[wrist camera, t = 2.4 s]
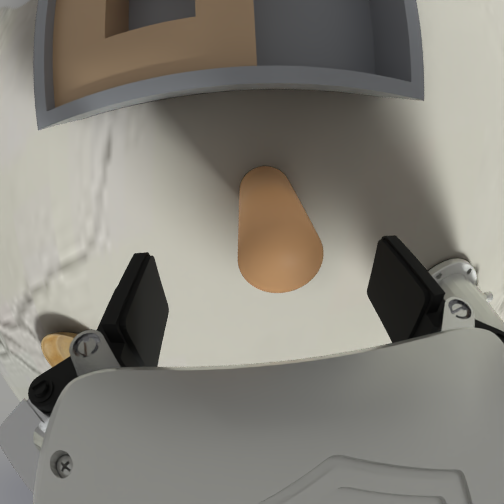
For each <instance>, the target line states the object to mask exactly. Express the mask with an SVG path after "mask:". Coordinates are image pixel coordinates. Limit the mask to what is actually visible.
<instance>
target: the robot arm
mask: <svg viewBox="0 0 504 504" xmlns="http://www.w3.org/2000/svg"><path fill="white" fill-rule="evenodd" d="M476 284H477V275H476V271H475V269H474V267H473V266H472V265H471V264H470V263H469V262H468V261H466V260H464V259H460V258H456V259H450V260H447V261H444V262H442V263H440V264H438V265H436V266H435V267H433V268H432V269H430V270H429V271H427V270H426V269H425V267H424V266H423V265H422V264H421V263H420V262H419V261H418V259H417V258H416V257H415V256H414V255H413V254H412V253H411V252H410V250H409V249H408V248H407V247H406V246H405V245H404V244H403V243H402V242H401V241H400V240H399V239H398V238H397V237H396V236H383V237H382V239H381V240H379V241H378V245H377V250H376V254H375V259H374V263H373V268H372V272H371V276H370V280H369V284H368V288H367V295H368V297H369V299H370V301H371V303H372V305H373V307H374V308H375V310H376V312H377V314H378V316H379V318H380V320H381V321H382V323H383V325H384V327H385V329H386V331H387V333H388V335H389V337H390V339H391V341H392V343H390V344H386V345H381V346H376V347H371V348H366V349H361V350H356V351H350V352H344V353H339V354H332V355H326V356H319V357H312V358H305V359H297V360H288V361H279V362H269V363H257V364H244V365H228V366H201V367H157V365H158V360H159V355H160V350H161V345H162V340H163V336H164V331H165V327H166V322H167V318H168V313H169V308H168V303H167V300H166V297H165V294H164V290H163V287H162V284H161V280H160V277H159V273H158V270H157V266H156V262H155V259H154V257H153V256H150V255H149V253H148V252H147V253H135V254H134V255H133V257H132V259H131V261H130V263H129V265H128V267H127V269H126V270H125V272H124V274H123V276H122V278H121V280H120V282H119V285H118V286H117V288H116V289H115V291H114V293H113V295H112V298H111V300H110V302H109V304H108V306H107V308H106V310H105V313H104V315H103V317H102V319H101V322H100V324H99V326H98V329H97V330H92V329H91V330H86V331H83V332H81V333H79V334H78V335H76V337H75V338H74V339H73V340H72V342H71V344H70V347H69V353H70V357H68V358H66V359H65V360H63V361H62V362H60V363H58V364H57V365H55V366H54V367H52V368H51V369H49V370H47V371H46V372H44V373H43V374H41V375H40V376H38V377H37V378H36V379H34V380H33V382H32V383H31V385H30V387H29V392H28V396H29V399H28V400H26V399H25V398H24V399H23V400H22V401H21V402H20V404H19V405H18V406H17V407H16V408H15V409H14V410H13V411H12V413H11V414H10V415H9V416H8V417H7V418H6V420H5V421H4V422H3V423H2V424H1V426H0V446H1V448H2V450H3V451H4V453H5V455H6V456H7V458H8V459H9V461H10V463H11V464H12V466H13V467H14V468H15V470H16V471H17V473H18V474H19V476H20V477H21V478H22V480H23V481H24V483H25V484H26V485H27V486H28V488H29V489H30V491H31V492H32V493H33V494H34V497H33V504H504V322H503V321H502V320H501V318H500V317H499V316H498V314H497V313H496V312H495V310H494V309H493V308H492V307H491V305H490V304H489V303H488V302H490V301H491V300H492V298H493V295H492V293H491V292H486V293H482V291H481V290H480V289H479V288H478V287H477V286H476Z"/></svg>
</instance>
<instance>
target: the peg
mask: <svg viewBox="0 0 504 504" xmlns="http://www.w3.org/2000/svg"><path fill="white" fill-rule="evenodd" d="M322 261H323V246H322V243H321V241H320V238H319V236H318V234H317V233H316V231H315V229H314V227H313V225H312V223H311V221H310V219H309V217H308V215H307V213H306V212H305V210H304V208H303V206H302V204H301V202H300V200H299V199H298V197H297V195H296V193H295V191H294V190H293V188H292V186H291V184H290V182H289V181H288V179H287V177H286V176H285V175H284V174H283V173H282V172H281V171H280V170H278V169H276V168H273V167H269V166H262V167H257V168H255V169H253V170H251V171H249V172H248V173H247V174H246V175H245V176H244V178H243V179H242V181H241V184H240V192H239V228H238V265H239V269H240V272H241V274H242V275H243V277H244V278H245V279H246V280H247V282H248V283H250V284H251V285H252V286H254V287H256V288H258V289H260V290H262V291H266V292H271V293H284V292H289V291H293V290H296V289H298V288H300V287H302V286H304V285H305V284H307V283H308V282H309V281H310V280H311V279H313V277H314V276H315V275H316V274H317V272H318V271H319V269H320V267H321V264H322Z"/></svg>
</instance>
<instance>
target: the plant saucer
mask: <svg viewBox="0 0 504 504" xmlns="http://www.w3.org/2000/svg"><path fill="white" fill-rule="evenodd" d="M76 335H78V334H77V333H70V332H58V333H52V334H49V335H46V336H45V337H44V338H43V339H42V341H41V348H42V352H43V354H44V356H45V358H46V360H47V361H48V362H49V364H50V365H51V366H52V367H54V366H55V365H57V364H58V363H60V362H62V361H63V360H65V359H66V358H68V357H70V353H69V347H70V344H71V342H72V340H73V339H74V338H75V337H76Z"/></svg>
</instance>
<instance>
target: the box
mask: <svg viewBox="0 0 504 504" xmlns="http://www.w3.org/2000/svg"><path fill="white" fill-rule="evenodd" d="M33 68H34V95H35V108H36V118H37V126H38V130H41V129H45V128H48V127H52V126H55V125H59V124H63V123H67V122H72V121H76V120H80V119H84V118H87V117H91V116H94V115H97V114H101V113H104V112H108V111H112V110H115V109H119V108H123V107H128V106H132V105H136V104H141V103H146V102H151V101H156V100H161V99H167V98H173V97H179V96H186V95H194V94H202V93H211V92H222V91H235V90H254V89H303V90H323V91H336V92H346V93H355V94H363V95H370V96H377V97H388V98H402V99H413V100H422V101H424V66H423V50H422V39H421V30H420V22H419V15H418V9H417V3H416V0H38V7H37V14H36V23H35V35H34V61H33Z"/></svg>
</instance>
